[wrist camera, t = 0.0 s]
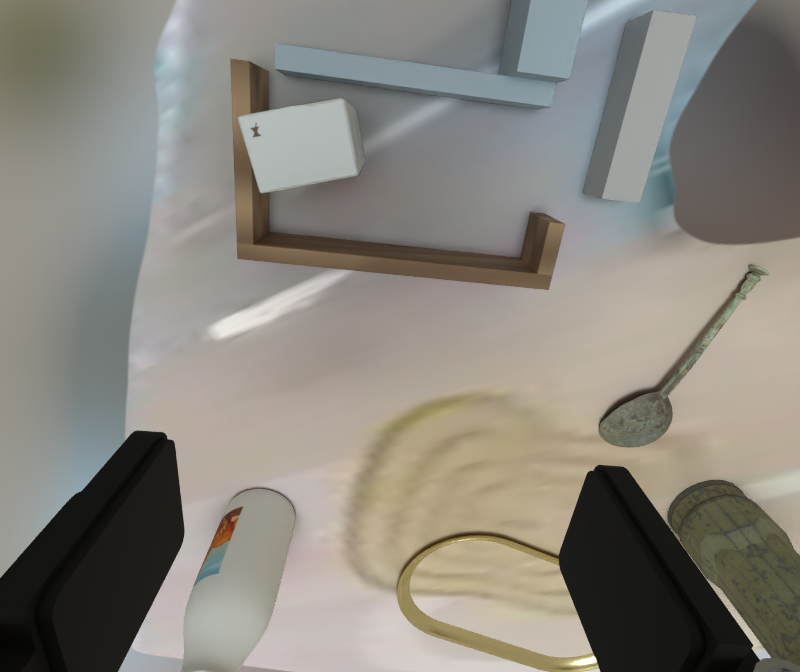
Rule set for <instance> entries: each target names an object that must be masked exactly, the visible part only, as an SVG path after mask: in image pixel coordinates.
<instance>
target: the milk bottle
mask: <svg viewBox="0 0 800 672" xmlns="http://www.w3.org/2000/svg"><path fill="white" fill-rule="evenodd" d="M294 525H295V513H294V510H293V507H292V505H291V504H290V502H289V501H288V500H287V499H286V498H285V497H283V496H282V495H280V494H278V493H276V492H274V491H271V490H266V489H251V490H247V491H244V492H242V493H240V494H239V495H237V496H236V497H235V498H233V499H232V501H231V502H230V503H229V505H228V507H227V509H226V511H225V513H224V516H223V518H222V520H221V523H220V525H219V527H218V529H217V532H216V534H215V536H214V539H213V541H212V543H211V546H210V548H209V550H208V552H207V555H206V557H205V560H204V562H203V564H202V567H201V569H200V571H199V574H198V576H197V578H196V581H195V584H194V586H193V589H192V591H191V594H190V597H189V600H188V603H187V607H186V611H185V616H184V658H183V665H182V670H181V672H238V671H239V669H240V667H241V666H242V664H243V663H244V661H245V660H246V658H247V657H248V656H249V654H250V653H251V652H252V651H253V649H254V648H255V647H256V645H257V644H258V642H259V641H260V639H261V637H262V636H263V634H264V632H265V630H266V628H267V626H268V623H269V621H270V618H271V615H272V612H273V609H274V605H275V602H276V598H277V594H278V590H279V586H280V583H281V579H282V575H283V571H284V567H285V563H286V558H287V554H288V550H289V546H290V542H291V538H292V534H293V529H294Z"/></svg>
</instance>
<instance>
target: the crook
mask: <svg viewBox="0 0 800 672" xmlns="http://www.w3.org/2000/svg"><path fill="white" fill-rule="evenodd" d="M587 3H588V0H512V1H511V6H510V12H509V17H508V23H507V29H506V34H505V40H504V45H503V51H502V56H501V62H500V67H499V73H498V75H496V74H489V73H482V72H475V71H468V70H461V69H454V68H447V67H440V66H433V65H426V64H419V63H411V62H404V61H397V60H390V59H383V58H376V57H369V56H362V55H355V54H348V53H341V52H334V51H327V50H320V49H313V48H306V47H298V46H291V45H284V44H277V43H275V69H276V70H277V71H279V72H281V73H282V74H284V75H289V76H296V77H303V78H311V79H318V80H325V81H333V82H340V83H347V84H355V85H362V86H369V87H376V88H384V89H391V90H398V91H406V92H413V93H420V94H428V95H435V96H442V97H449V98H457V99H464V100H471V101H479V102H486V103H493V104H501V105H508V106H515V107H522V108H530V109H542V108H548V107H551V105H552V101H553V96H554V92H555V87H556V83H558V82H561V81H564V80H568V79H570V75H571V71H572V66H573V62H574V58H575V54H576V49H577V45H578V41H579V37H580V32H581V28H582V24H583V20H584V16H585V11H586V7H587Z"/></svg>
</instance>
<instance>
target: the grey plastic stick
mask: <svg viewBox="0 0 800 672" xmlns="http://www.w3.org/2000/svg"><path fill="white" fill-rule="evenodd" d="M696 18H697V16H691V15H684V14H677V13H669V12H662V11H655V10H653V11H651V12H649V13H647V14H645V15H643V16H640V17H638V18H636V19H634V20H632V21H630V22H628V23H626V25H625V29H624V33H623V37H622V41H621V44H620V48H619V52H618V56H617V60H616V64H615V68H614V72H613V76H612V80H611V84H610V87H609V91H608V95H607V99H606V103H605V107H604V111H603V115H602V119H601V123H600V126H599V130H598V134H597V138H596V142H595V146H594V150H593V154H592V158H591V162H590V166H589V169H588V173H587V177H586V181H585V185H584V189H583V193H584V194H587V195H591V196H594V197H597V198H601V199H609V200H618V201H627V202H636V203H640V200H641V196H642V193H643V190H644V187H645V183H646V180H647V177H648V174H649V170H650V167H651V164H652V161H653V157H654V154H655V151H656V148H657V144H658V141H659V138H660V135H661V131H662V128H663V125H664V122H665V118H666V115H667V112H668V109H669V105H670V102H671V99H672V96H673V92H674V89H675V86H676V83H677V79H678V76H679V73H680V70H681V66H682V63H683V60H684V57H685V53H686V50H687V47H688V44H689V40H690V37H691V34H692V31H693V27H694V24H695V21H696Z"/></svg>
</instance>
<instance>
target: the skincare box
mask: <svg viewBox="0 0 800 672" xmlns="http://www.w3.org/2000/svg"><path fill="white" fill-rule="evenodd" d="M238 122H239V125H240V129H241V132H242V135H243V138H244V142H245V145H246V148H247V152H248V155H249V158H250V161H251V165H252V168H253V172H254V175H255V178H256V182H257V185H258V188H259V191H260V193H266V192H273V191H280V190H286V189H292V188H297V187H302V186H307V185H311V184H316V183H322V182H327V181H332V180H337V179H343V178H348V177H354V176H358V174H359V173H360V171H361V169H362V168H363V166H364V164H365V158H364V152H363V146H362V140H361V134H360V128H359V122H358V116H357V111H356V109H355V108H354V107H353V106H352V105H350V104H349V103H348V102H347V101H346V100H345V99H344V98H337V99H332V100H326V101H321V102H315V103H309V104H304V105H294V106H288V107H284V108H279V109H273V110H268V111H263V112H257V113H252V114H247V115H242V116H239V117H238Z"/></svg>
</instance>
